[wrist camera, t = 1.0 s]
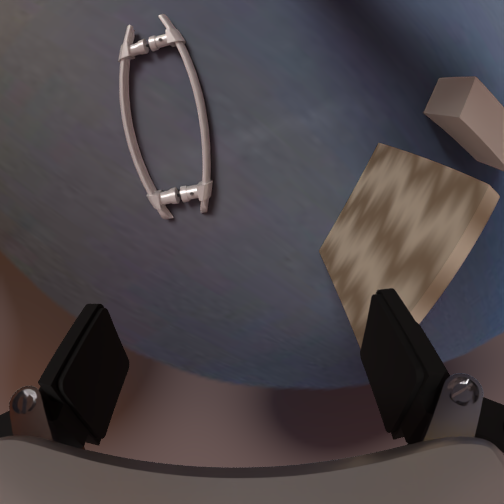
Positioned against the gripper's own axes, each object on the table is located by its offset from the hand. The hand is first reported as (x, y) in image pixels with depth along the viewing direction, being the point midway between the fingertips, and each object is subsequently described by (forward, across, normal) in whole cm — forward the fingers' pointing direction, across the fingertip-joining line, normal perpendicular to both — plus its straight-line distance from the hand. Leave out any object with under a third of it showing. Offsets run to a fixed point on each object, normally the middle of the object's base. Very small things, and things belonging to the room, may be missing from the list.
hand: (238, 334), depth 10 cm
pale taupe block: (+27, -30, -7) cm, 41 cm away
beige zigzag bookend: (+27, -20, +8) cm, 35 cm away
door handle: (+28, +9, -8) cm, 30 cm away
